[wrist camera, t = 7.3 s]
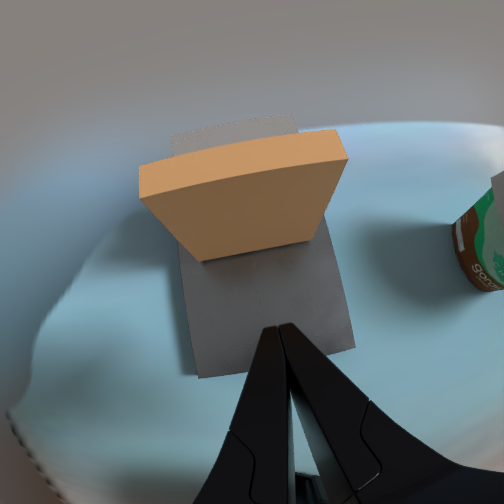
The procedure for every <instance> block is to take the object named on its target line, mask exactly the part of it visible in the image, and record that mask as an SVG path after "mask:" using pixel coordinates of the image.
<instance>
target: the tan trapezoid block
mask: <svg viewBox="0 0 504 504" xmlns="http://www.w3.org/2000/svg"><path fill="white" fill-rule="evenodd" d="M347 161H348V157H347V154H346V152H345V150H344V147H343V145H342V143H341V140H340V138H339V136H338V133H337V131H336V129H333V130H322V131H313V132H304V133H296V134H288V135H281V136H274V137H268V138H261V139H255V140H250V141H244V142H238V143H233V144H228V145H223V146H218V147H213V148H209V149H204V150H200V151H195V152H191V153H187V154H183V155H179V156H175V157H171V158H167V159H163V160H160V161H156V162H152V163H149V164H146V165H142V166H140V167H139V199H140V200H141V201H142V202H143V203H144V204H145V205H146V207H147V208H148V209H149V210H150V211H151V212H152V213H153V214H154V215H155V216H156V217H157V218H158V220H159V221H160V222H161V223H162V224H163V225H164V226H165V227H166V228H167V229H168V230H169V231H170V232H171V233H172V235H173V236H174V237H175V238H176V239H177V240H178V241H179V242H180V243H181V244H182V245H183V246H184V247H185V248H186V249H187V250H188V251H189V252H190V253H191V254H192V255H193V256H194V258H195V259H196V260H197V261H198V262H200V261H205V260H210V259H215V258H220V257H225V256H230V255H236V254H241V253H246V252H251V251H256V250H261V249H266V248H272V247H277V246H282V245H287V244H292V243H297V242H303V241H308V240H312V238H313V236H314V234H315V232H316V230H317V228H318V226H319V223H320V221H321V219H322V217H323V215H324V213H325V210H326V208H327V206H328V204H329V202H330V199H331V197H332V195H333V193H334V190H335V188H336V186H337V184H338V181H339V179H340V177H341V175H342V172H343V170H344V168H345V165H346V163H347Z"/></svg>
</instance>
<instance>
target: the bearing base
mask: <svg viewBox="0 0 504 504" xmlns="http://www.w3.org/2000/svg"><path fill="white" fill-rule="evenodd" d="M296 133H299V132H298V130H297V127H296V124H295V122H294V119H293V116H292V114H285V115H278V116H270V117H263V118H257V119H250V120H245V121H239V122H233V123H228V124H223V125H218V126H213V127H209V128H204V129H200V130H195V131H191V132H187V133H183V134H179V135H175V136H172V156H173V157H175V156H179V155H183V154H187V153H191V152H195V151H200V150H204V149H209V148H213V147H218V146H223V145H228V144H233V143H238V142H244V141H250V140H255V139H261V138H268V137H274V136H281V135H288V134H296ZM177 243H178V252H179V261H180V269H181V277H182V284H183V292H184V299H185V306H186V312H187V319H188V325H189V331H190V337H191V343H192V348H193V354H194V359H195V364H196V369H197V375H198V379H200V378H209V377H217V376H224V375H231V374H238V373H244V372H249V369H250V366H251V363H252V360H253V357H254V354H255V351H256V348H257V344H258V341H259V338H260V335H261V332H262V329H263V328H265V327H269V326H274V325H276V326H279V325H280V324H284V323H289V322H292V323H294V324H295V325H296V326H297V327H298V328H299V329H300V330H301V331H302V332H303V333H304V334H305V335H306V336H307V337H308V338H309V339H310V340H311V341H312V342H313V343H314V344H315V345H316V346H317V347H318V348H319V349H320V350H321V351H322V352H323V353H324V354H325V355H330V354H334V353H338V352H342V351H345V350H349V349H352V348H356V347H355V342H354V336H353V331H352V326H351V321H350V317H349V312H348V307H347V303H346V298H345V294H344V290H343V285H342V281H341V277H340V273H339V269H338V265H337V261H336V257H335V253H334V249H333V246H332V242H331V238H330V235H329V231H328V227H327V224H326V220H325V217H324V215H323V217H322V219H321V221H320V223H319V226H318V228H317V230H316V232H315V234H314V236H313V238H312V240H308V241H303V242H297V243H292V244H287V245H282V246H277V247H272V248H266V249H261V250H256V251H251V252H246V253H241V254H236V255H230V256H225V257H220V258H215V259H210V260H205V261H200V262H198V261H197V260H196V259H195V258H194V256H193V255H192V254H191V253H190V252H189V251H188V250H187V249H186V248H185V247H184V246H183V245H182V244H181V243H180V242H179V241H178V240H177Z"/></svg>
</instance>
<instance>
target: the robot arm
mask: <svg viewBox="0 0 504 504" xmlns="http://www.w3.org/2000/svg"><path fill="white" fill-rule="evenodd" d="M290 392H291V395H290ZM291 396H292V399H293V402H294V405H295V408H296V411H297V414H298V416H299V419H300V422H301V425H302V428H303V430H304V433H305V436H306V439H307V441H308V444H309V447H310V450H311V453H312V455H313V458H314V461H315V463H316V466H317V469H318V472H319V474H320V476H316V475H314V476H308V475H305V474H301V473H297V472H295V467H294V444H293V424H292V406H291ZM229 430H230V431H228V432H227V435H226V437H225V440H224V443H223V445H222V448H221V450H220V453H219V455H218V458H217V460H216V462H215V464H214V466H213V468H212V470H211V472H210V474H209V476H208V478H207V480H206V481H205V483H204V485H203V487H202V488H201V490H200V492H199V493H198V495H197V497H196V498H195V500H194V502H193V503H192V504H504V473H503V472H496V471H489V470H483V469H477V468H472V467H467V466H463V465H460V464H457V463H455V462H453V461H451V460H449V459H447V458H445V457H444V456H442V455H441V454H439V453H438V452H436V451H435V450H433V449H432V448H430V447H429V446H427V445H426V444H424V443H423V442H421V441H420V440H419V439H417V438H416V437H414V436H413V435H411V434H410V433H409V432H407V431H406V430H405V429H403V428H402V427H401V426H399V425H398V424H397V423H395V422H394V421H393V420H392V419H391V418H390V417H389V416H387V415H386V414H385V413H384V412H383V411H382V410H381V409H380V408H379V407H378V406H377V405H376V404H375V403H373V402H372V401H371V400H370V401H369V398H368V397H367V396H366V395H365V394H364V393H363V392H362V391H361V390H360V389H359V388H358V387H357V386H356V385H355V384H354V383H353V382H352V381H351V380H350V379H349V378H348V377H347V376H346V375H345V374H344V373H343V372H342V371H341V370H340V369H339V368H338V367H337V366H336V365H335V364H334V363H333V362H332V361H331V360H330V359H329V358H328V357H327V356H326V355H325V354H324V353H323V352H322V351H321V350H320V349H319V348H318V347H317V346H316V345H315V344H314V343H313V342H312V341H311V340H310V339H309V338H308V337H307V336H306V335H305V334H304V333H303V332H302V331H301V330H300V329H299V328H298V327H297V326H296V325H295V324H294V323H292V322H289V323H284V324H280V325H279V326H276V325H274V326H269V327H265V328H263V329H262V332H261V335H260V338H259V341H258V344H257V348H256V351H255V354H254V357H253V360H252V363H251V366H250V369H249V372H248V375H247V378H246V381H245V384H244V387H243V390H242V392H241V395H240V398H239V401H238V404H237V407H236V410H235V413H234V416H233V418H232V421H231V424H230V427H229Z"/></svg>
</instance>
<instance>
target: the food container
mask: <svg viewBox="0 0 504 504" xmlns="http://www.w3.org/2000/svg"><path fill="white" fill-rule="evenodd" d="M491 183H492V187H491V188H490V189H489V190H488V191H487V192H486V193H485V194H484V195H483V196H482V197H481V198H480V199H479V200H478V201H477V202H476V203H475V204H474V205H473V206H472V207H471V208H470V209H469V210H468V211H467V212H466V213H464V214H463V215H462V216H461V217H460V218H459V219H458V220H457V221H456V222H455V223H453V231H452V236H453V242H454V248H455V253H456V256H457V258H458V261H459V264H460V267H461V268H462V270H463V272H464V273H465V275H466V277H467V278H468V280H469V281H470V282H471V283H472V284H473V285H474V286H475V287H477V288H478V289H480V290H483V291H488V292H490V291H497V290H503V289H504V171H503V172H501V173H499V174H497V175H495V176H494V177H492V178H491Z"/></svg>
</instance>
